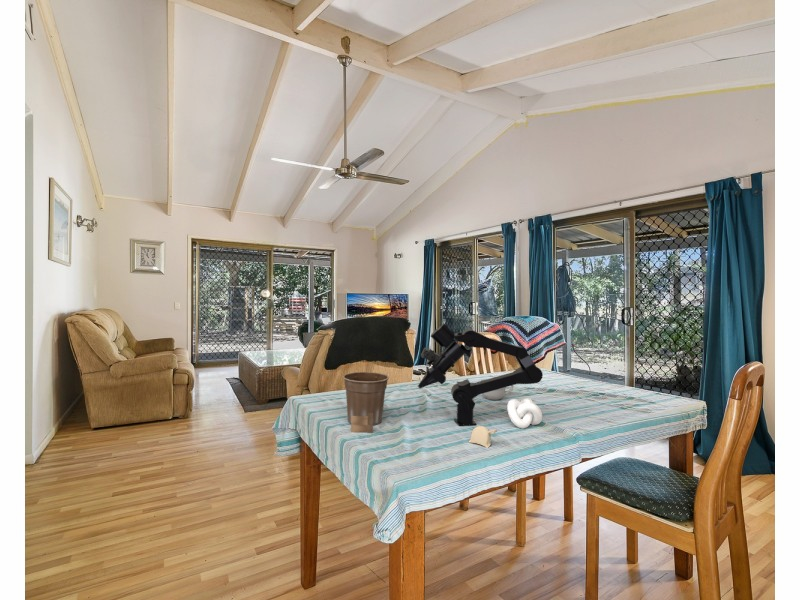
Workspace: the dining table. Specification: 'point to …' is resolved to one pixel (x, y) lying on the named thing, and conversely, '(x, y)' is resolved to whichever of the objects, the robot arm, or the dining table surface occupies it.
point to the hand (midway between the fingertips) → (418, 387)
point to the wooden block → (362, 423)
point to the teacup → (496, 393)
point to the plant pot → (365, 394)
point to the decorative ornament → (481, 436)
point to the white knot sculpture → (524, 412)
